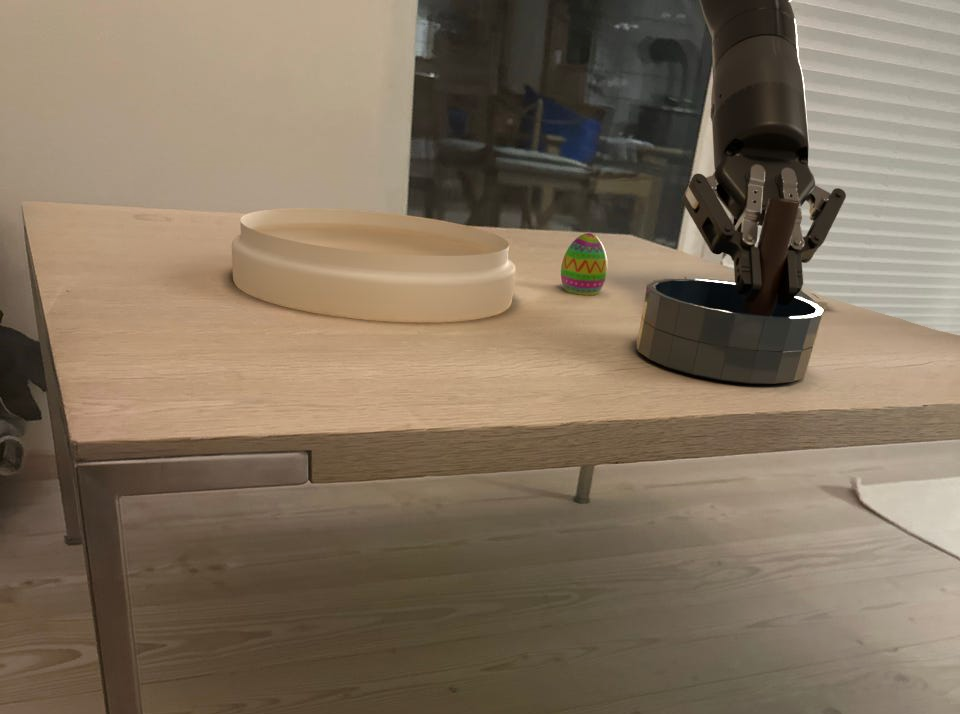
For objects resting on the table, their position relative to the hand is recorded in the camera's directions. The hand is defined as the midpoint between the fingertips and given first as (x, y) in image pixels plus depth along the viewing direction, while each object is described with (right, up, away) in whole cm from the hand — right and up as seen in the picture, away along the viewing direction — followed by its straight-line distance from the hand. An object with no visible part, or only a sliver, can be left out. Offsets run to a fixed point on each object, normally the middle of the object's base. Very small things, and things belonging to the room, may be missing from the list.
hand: (770, 297), depth 73 cm
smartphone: (+9, +13, +34) cm, 38 cm away
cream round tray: (-33, +7, +17) cm, 38 cm away
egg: (-12, +10, +26) cm, 31 cm away
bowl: (-3, -4, +5) cm, 7 cm away
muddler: (-1, -3, +4) cm, 5 cm away
